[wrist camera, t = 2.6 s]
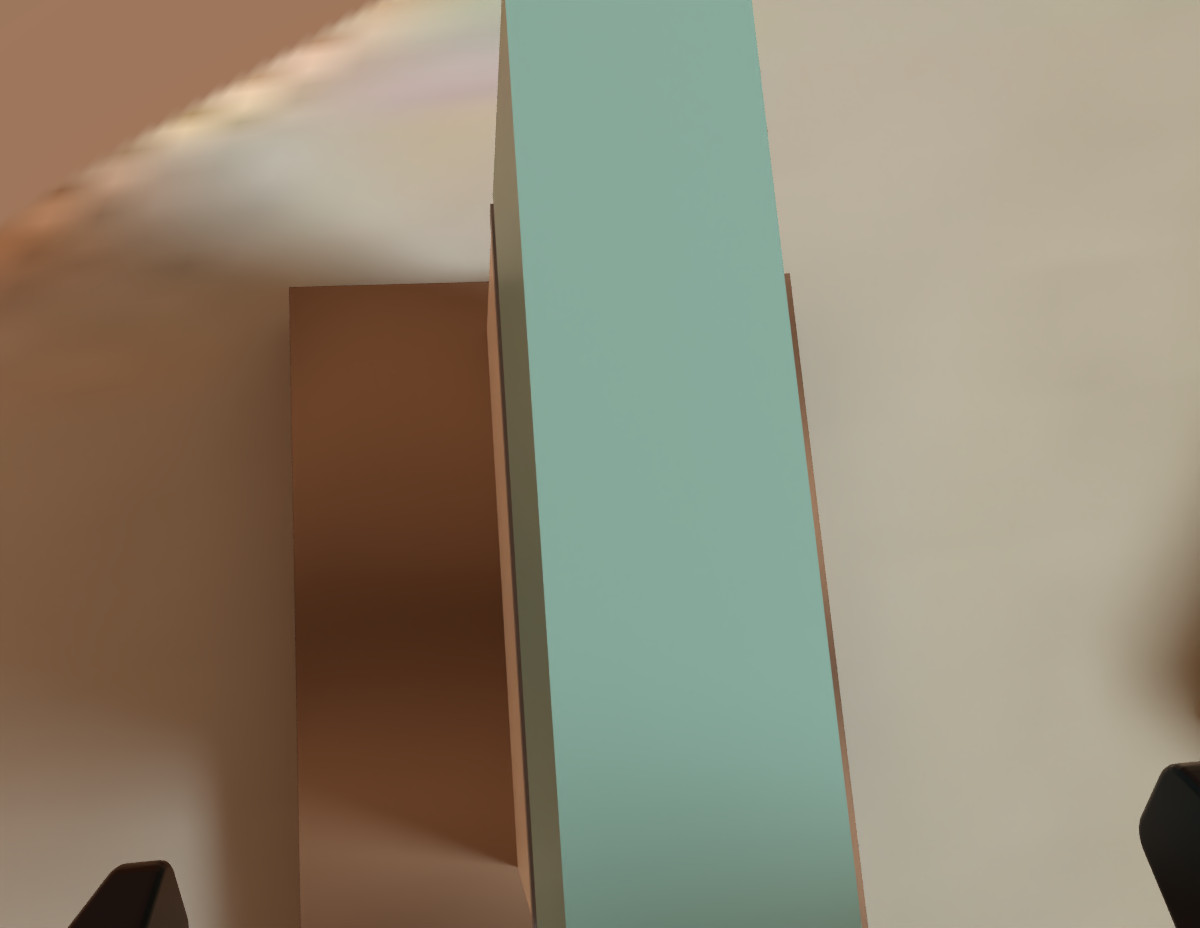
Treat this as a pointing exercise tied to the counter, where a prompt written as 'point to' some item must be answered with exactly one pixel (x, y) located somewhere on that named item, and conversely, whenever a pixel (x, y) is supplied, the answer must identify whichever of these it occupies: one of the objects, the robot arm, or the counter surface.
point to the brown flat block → (411, 613)
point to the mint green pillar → (660, 481)
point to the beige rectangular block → (509, 586)
